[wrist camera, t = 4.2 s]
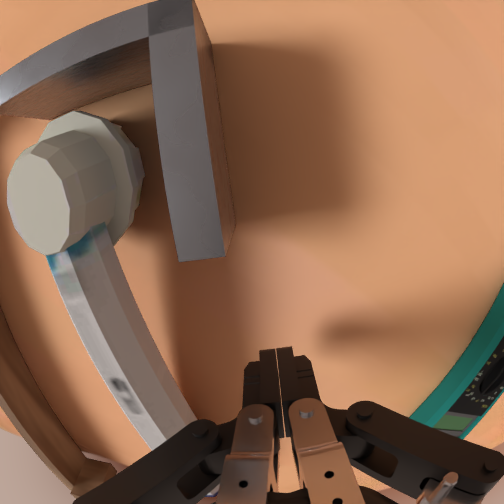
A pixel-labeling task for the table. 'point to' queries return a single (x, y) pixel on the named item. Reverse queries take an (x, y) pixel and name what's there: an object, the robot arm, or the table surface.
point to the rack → (43, 422)
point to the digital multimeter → (470, 380)
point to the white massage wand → (96, 259)
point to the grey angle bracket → (165, 104)
